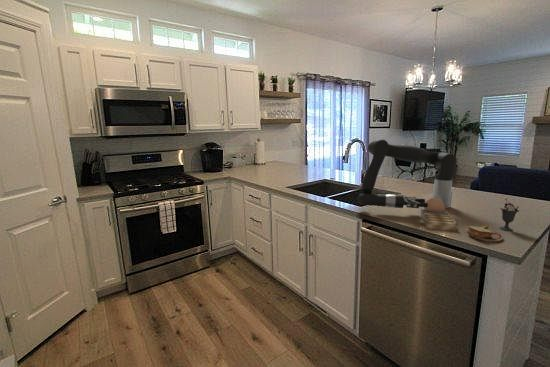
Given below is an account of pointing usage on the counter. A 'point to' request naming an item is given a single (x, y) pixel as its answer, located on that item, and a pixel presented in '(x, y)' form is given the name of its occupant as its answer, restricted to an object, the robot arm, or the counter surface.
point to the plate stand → (432, 212)
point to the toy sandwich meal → (484, 234)
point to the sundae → (508, 215)
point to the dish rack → (439, 221)
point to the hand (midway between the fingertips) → (426, 203)
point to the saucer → (435, 205)
